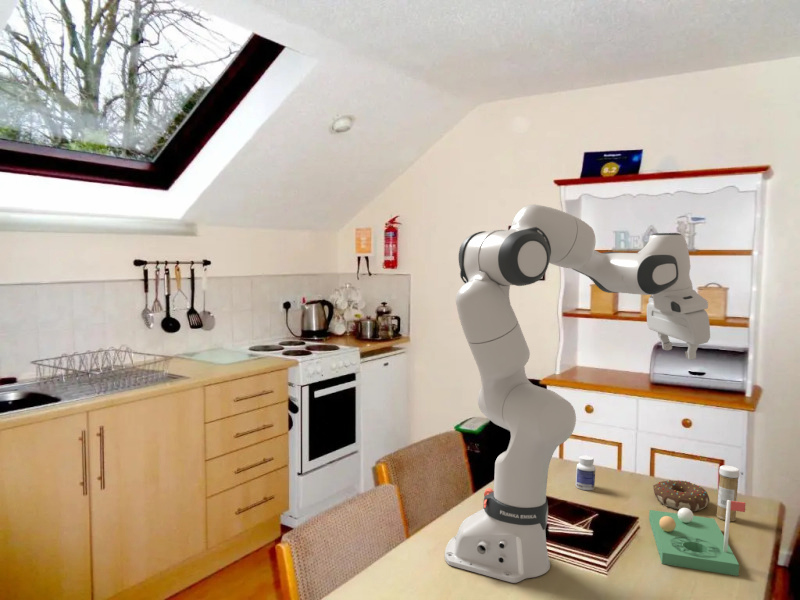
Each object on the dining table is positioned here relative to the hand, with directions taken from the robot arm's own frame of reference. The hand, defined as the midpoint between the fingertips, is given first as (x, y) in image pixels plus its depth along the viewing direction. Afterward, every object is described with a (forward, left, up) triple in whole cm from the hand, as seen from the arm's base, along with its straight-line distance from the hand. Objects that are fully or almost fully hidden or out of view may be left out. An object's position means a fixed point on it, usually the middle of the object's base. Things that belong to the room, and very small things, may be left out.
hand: (678, 353), depth 148 cm
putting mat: (+4, -8, -44) cm, 45 cm away
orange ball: (-1, -8, -39) cm, 40 cm away
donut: (+6, +19, -44) cm, 48 cm away
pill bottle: (-19, +21, -44) cm, 52 cm away
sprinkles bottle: (+16, +12, -44) cm, 48 cm away
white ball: (+4, -1, -39) cm, 40 cm away
